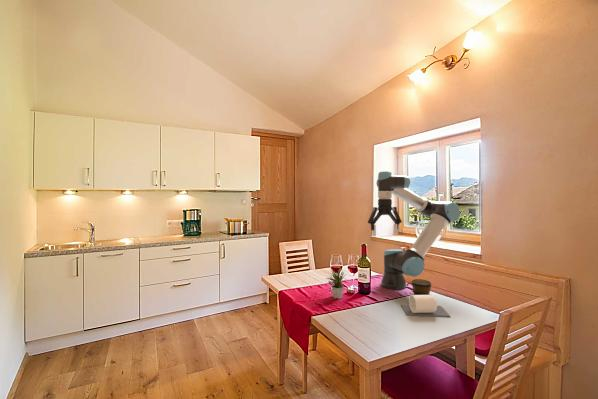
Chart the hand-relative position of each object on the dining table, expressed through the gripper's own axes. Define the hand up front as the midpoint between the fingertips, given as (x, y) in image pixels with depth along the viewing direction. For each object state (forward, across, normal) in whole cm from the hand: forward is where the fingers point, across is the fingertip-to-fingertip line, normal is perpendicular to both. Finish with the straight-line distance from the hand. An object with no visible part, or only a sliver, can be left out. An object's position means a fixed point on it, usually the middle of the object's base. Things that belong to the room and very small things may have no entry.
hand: (384, 235), depth 162 cm
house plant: (+35, -27, +6) cm, 45 cm away
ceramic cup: (+35, +15, -10) cm, 39 cm away
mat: (+35, +8, -24) cm, 43 cm away
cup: (+31, +11, -26) cm, 42 cm away
